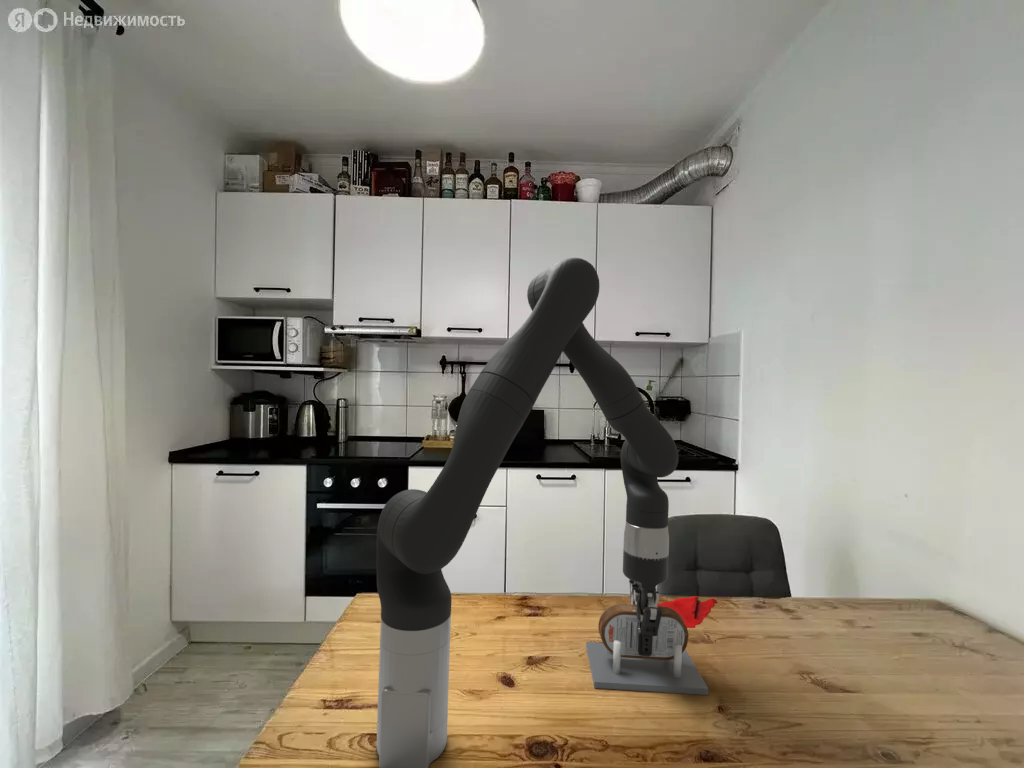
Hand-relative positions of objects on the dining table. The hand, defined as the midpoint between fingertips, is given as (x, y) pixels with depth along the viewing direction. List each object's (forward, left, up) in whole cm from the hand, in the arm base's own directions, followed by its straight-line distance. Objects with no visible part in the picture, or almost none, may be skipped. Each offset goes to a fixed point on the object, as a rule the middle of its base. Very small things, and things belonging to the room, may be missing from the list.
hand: (642, 649), depth 82 cm
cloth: (+22, -12, -4) cm, 26 cm away
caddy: (0, 0, -3) cm, 3 cm away
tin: (0, 0, -1) cm, 1 cm away
